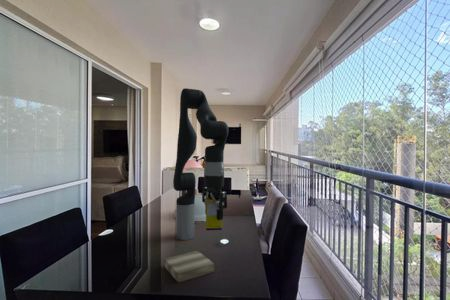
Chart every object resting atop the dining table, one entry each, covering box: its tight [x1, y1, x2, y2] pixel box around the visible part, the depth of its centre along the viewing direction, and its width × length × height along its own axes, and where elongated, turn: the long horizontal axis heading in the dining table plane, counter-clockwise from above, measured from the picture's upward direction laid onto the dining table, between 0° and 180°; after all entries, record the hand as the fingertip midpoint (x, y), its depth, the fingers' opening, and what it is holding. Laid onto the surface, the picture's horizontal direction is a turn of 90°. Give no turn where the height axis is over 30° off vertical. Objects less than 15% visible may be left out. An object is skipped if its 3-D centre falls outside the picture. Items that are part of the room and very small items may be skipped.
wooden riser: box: [164, 250, 215, 283], centre depth 93 cm, size 14×14×3 cm
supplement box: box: [205, 198, 223, 231], centre depth 93 cm, size 6×6×11 cm
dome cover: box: [174, 194, 206, 222], centre depth 170 cm, size 32×30×14 cm
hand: (213, 216), depth 93 cm, fingers closed on supplement box, 8 cm apart
